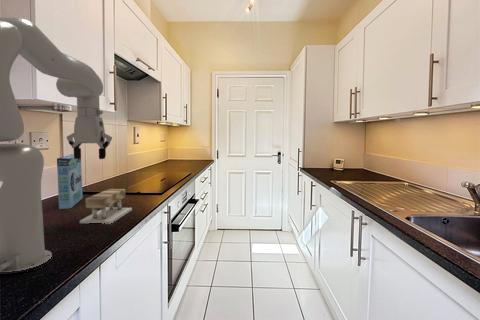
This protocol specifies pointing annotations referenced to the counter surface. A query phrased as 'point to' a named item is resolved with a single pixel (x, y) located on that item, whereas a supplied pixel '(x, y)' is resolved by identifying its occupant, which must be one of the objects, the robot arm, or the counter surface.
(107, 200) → the oak shelf board
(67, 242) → the counter surface
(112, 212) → the peg stand
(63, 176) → the light blue carton
